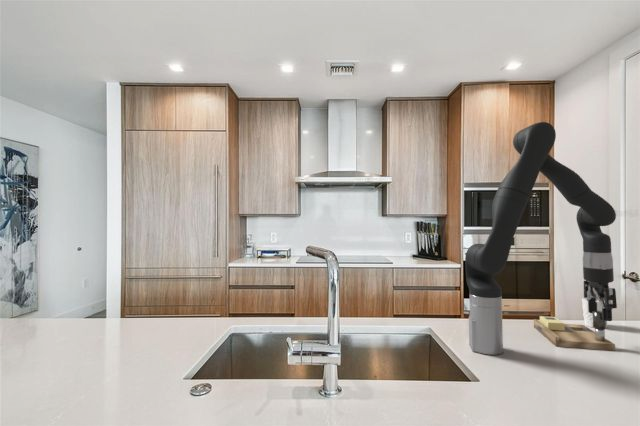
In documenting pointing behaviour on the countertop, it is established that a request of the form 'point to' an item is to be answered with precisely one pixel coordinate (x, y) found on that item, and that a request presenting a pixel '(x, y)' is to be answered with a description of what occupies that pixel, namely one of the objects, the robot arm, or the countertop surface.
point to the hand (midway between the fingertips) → (599, 316)
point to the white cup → (589, 316)
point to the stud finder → (552, 323)
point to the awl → (599, 326)
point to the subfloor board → (573, 337)
